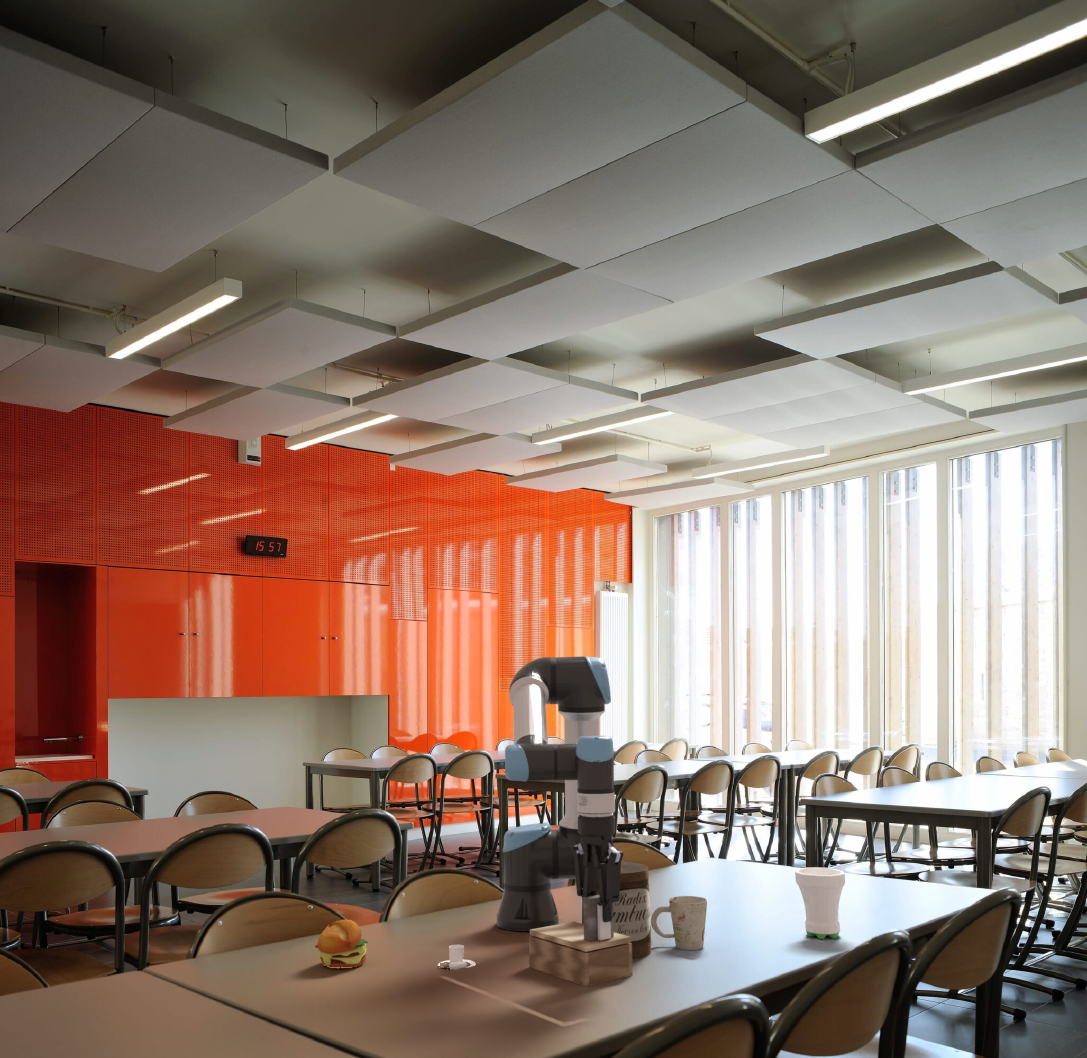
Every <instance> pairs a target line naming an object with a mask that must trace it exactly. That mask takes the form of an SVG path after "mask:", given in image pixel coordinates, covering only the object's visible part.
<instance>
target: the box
mask: <svg viewBox="0 0 1087 1058" xmlns="http://www.w3.org/2000/svg"><path fill="white" fill-rule="evenodd" d="M528 950H529V951H528V955H529V956H528V963H529V964H528V965H529V966H528V967H529V968H531V969H534V970H536V971H540V972H543V973H545V974H547V975H548V974H549V975H551V976H554V977H558V978H559V979H563V980H565V981H568V982H572V983H574V984H578V985H579V986H580V985H581V986H583V987H590V986H593V985H598V984H602V983H605V982H610V981H614V980H618V979H622V978H627V977H628V978H629V977H631V976H633V975H634V974H633V973H634V972H633V971H634V969H633V959H632V943H625V944H620V945H615V946H611V947H606V948H601V949H597V950H592V951H587V952H585V951H582V950H579V949H575V948H572V947H569V946H566V945H562V944H559V943H556V942H552V941H549V940H546V939H542V938H539V937H536V936H532V935H530V936H528Z"/></svg>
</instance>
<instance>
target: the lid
mask: <svg viewBox="0 0 1087 1058" xmlns="http://www.w3.org/2000/svg"><path fill="white" fill-rule="evenodd" d="M598 902H600V896H599V895H595V896H589V897H583V914H584V924H582V922H578V921H568V922H564V923H559V924H558V925H552V926H547V927H541V928H536V929H531V930H530V931H529V935H530V936H536V937H539V938H542V939H546V940H549V941H552V942H556V943H559V944H562V945H566V946H569V947H572V948H575V949H579V950H582V951H585V952H587V951H592V950H597V949H601V948H606V947H611V946H615V945H620V944H625V943H630V942H631V937H630V936H626V935H622V934H619V933H615V932H614V926H613V904H612V921H611V938H609V939H604V940H598V916H597V905H598V904H597V903H598Z"/></svg>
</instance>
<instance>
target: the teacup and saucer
mask: <svg viewBox="0 0 1087 1058" xmlns="http://www.w3.org/2000/svg"><path fill="white" fill-rule="evenodd" d="M448 953H449V957H448V958H449V959H447V960H444V961H440V962H439V963H437V967H438V966H440V963H444V962H448V968H450V971H453V970H454V971H456V970H462V969H467V968H471V967H475V966H476V965H477V962H475V961H473V960H470V959H464V956H465V945H463V944H451V945H449V946H448ZM467 963H469V964H470V965H469V966H468V964H467Z"/></svg>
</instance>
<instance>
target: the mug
mask: <svg viewBox="0 0 1087 1058" xmlns="http://www.w3.org/2000/svg"><path fill="white" fill-rule="evenodd" d="M668 901H669V902H668V903H669V905H664V906H662V905H661V906H658V907H657V908H656V909H655V910H654V911H653V913H652V914H651V916H650V917H651V928H652V930H653V931H654V933H656V934H657V935H658V936H660V937H661V938H663V939H674V943H675V948H677V949H679V950H684V951H697V950H701V949H703V948H704V945H705V944H704V943H705V942H704V941H705V933H706V931H705V930H706V922H707V921H706V918H707V911H708V910H707V908H708V900H707V899H706V898H705V897H701V896H694V895H693V896H692V895H680V896H679V895H678V896H673V897H670V898H669V899H668ZM662 913H670V917H671V923H672V929H673V933H664V932H663V931H661V929H660V928H659V926H658V923H657V920H658V917H659V915H660V914H662Z"/></svg>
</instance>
